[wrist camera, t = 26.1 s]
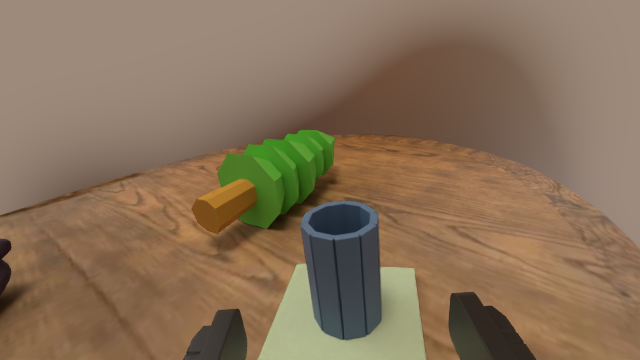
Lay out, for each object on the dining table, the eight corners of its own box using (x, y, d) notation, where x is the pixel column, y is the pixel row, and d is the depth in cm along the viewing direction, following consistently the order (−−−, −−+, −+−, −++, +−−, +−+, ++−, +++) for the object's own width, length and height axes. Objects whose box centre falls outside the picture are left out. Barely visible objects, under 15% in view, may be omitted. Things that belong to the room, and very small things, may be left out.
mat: (254, 375, 22) (253, 370, 22) (297, 268, 33) (296, 263, 33) (430, 397, 19) (430, 391, 19) (414, 272, 30) (414, 267, 30)
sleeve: (308, 337, 24) (292, 239, 21) (321, 285, 29) (310, 200, 26) (381, 343, 23) (377, 240, 19) (381, 288, 28) (378, 199, 25)
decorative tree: (172, 155, 34) (316, 99, 57) (178, 227, 41) (306, 151, 63) (247, 204, 30) (370, 123, 53) (241, 275, 37) (353, 176, 59)
